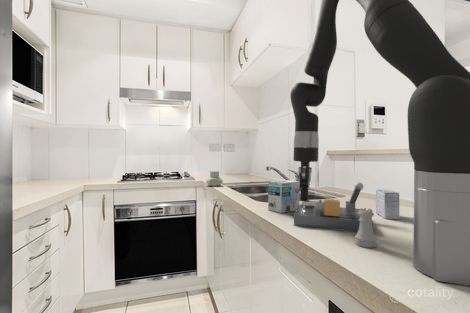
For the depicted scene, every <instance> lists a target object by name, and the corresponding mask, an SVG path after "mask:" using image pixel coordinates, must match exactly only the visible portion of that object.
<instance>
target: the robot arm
mask: <svg viewBox="0 0 470 313" xmlns="http://www.w3.org/2000/svg"><path fill="white" fill-rule="evenodd" d="M339 2H340V0H320V2H319V6H318V14H317V20H316V26H315V31H314V36H313V39H312V43H311V46H310V49H309V52H308V55H307V59H306V62H305V65H304V67H303V68H304V73H305V74H306V75H307V76H309V77H312V78H313V83H310V82H300V81H299V82H297V83H295V84H294V85H293V86H292V88H291V90H290V103H291V107H292V110H293V115H294V116H293V117H294V121H295V122H294V124H295V127H294V138H293V158H292V159H293V161H294V162H299V163H300V166H298V170H297V172H298V181H299V182H300V188H299V190H300V201H301V202H302V201H305V200H308V199H309V189H310V185H311V184H310V182H311V180H312V172H313V167H311V166H310V165H311V164H310V163H317V162H318V161H319V116H318V115H317V114H316V113H314V112H311V111H309V109H308V107H313V108H314V107H319V106H320V105H321V104H322V103H323V102H324V100H325V98H326V95H327V94H326V93H327V83H328V82H327V81H328V76H329V75H328V74H329V70H330V68H331V66H332V62H333V60H334V58H335V54H336V51H337V48H338V47H337V46H338V37H337V24H336V23H337V20H336V19H337V18H336V17H337V9H338V4H339ZM355 2H357V3H358V4H359V5H360V6H361V8H362V9H363V10H364V14H365V16H364V23H363V27H364V32H365V35H366V38H368V40H369V41H370V43H371V45H372V46H373V48H374V50H375V51H376V52H377V53H378V54H379V55H380V57H381V58H382V59H384V60H385V61H386V62H387V63H388V64H389V65H391V67H393V68H394V69H396V70H397V71H398V72H399V73H401V74H402V75H404V76H405V77H406V78H408V79H409V81H410V82H411V83H412V84H413V85H414V87H415V90H414V91H413V92H412V94H411V97H410V99H409V101H408V102H409V103H408V107H407V136H408V137H407V138H408V150H409V151H408V152H409V154H410V157H411V158H412V161H413V167H414V168H413V169H414V170H413V241H412V242H413V252H412V254H413V259H412V260H413V261H412V262H413V267H415V269H416V270H417V271H419V272H420V273H423V274H424V275H427V276H428V277H431V278H433V279H434V280H435V281H437V282H444V283H449V284H456V285H462V284H463V286H469V285H470V71H469V70H468V69H467V68H466V67H464V66H463V65H462V64H461V62H460V61H458V60H456V58H455V57H454V56H453V55H451V53H450V52H449V50H448V49H447V47H446V46H445V44H444V43H443V42H442V40H441V39H440V38H439V36H438V35H437V33H436V32H435V31H434V30H433V28H432V27H431V25H430V24H429V23H428V21H427V20H426V19H425V18H424V16H423V15H422V13H420V12H419V10H418V9H417V8H416V6H414V4H413V3H412V2H411V1H410V0H355Z"/></svg>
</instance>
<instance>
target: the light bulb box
mask: <svg viewBox="0 0 470 313" xmlns="http://www.w3.org/2000/svg"><path fill="white" fill-rule="evenodd" d="M267 192H268V195H267V196H268V201H267V203H268V204H267V205H268V206H267V208H268V211H271V212H276V213H279V214H283V213H287V212H289V213H290V212H294V211H295V212H296V210H297V208H298V207H299V205H300V182H299V180H292V179H291V180H290V179H289V180H288V179H282V180H270V181H268V190H267Z"/></svg>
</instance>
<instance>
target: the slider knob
mask: <svg viewBox="0 0 470 313" xmlns="http://www.w3.org/2000/svg"><path fill="white" fill-rule="evenodd" d="M323 200H324V215H327V216H339V217H340V207H341V206H340V204H341V201H340V200H339V199H334V197H330V198H324V199H323Z"/></svg>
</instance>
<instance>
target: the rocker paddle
mask: <svg viewBox="0 0 470 313" xmlns="http://www.w3.org/2000/svg"><path fill="white" fill-rule="evenodd" d="M324 200H325V199H322V200H317V199H309V198H308V200H305V201H303V205H315V206H316V202H324Z"/></svg>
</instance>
